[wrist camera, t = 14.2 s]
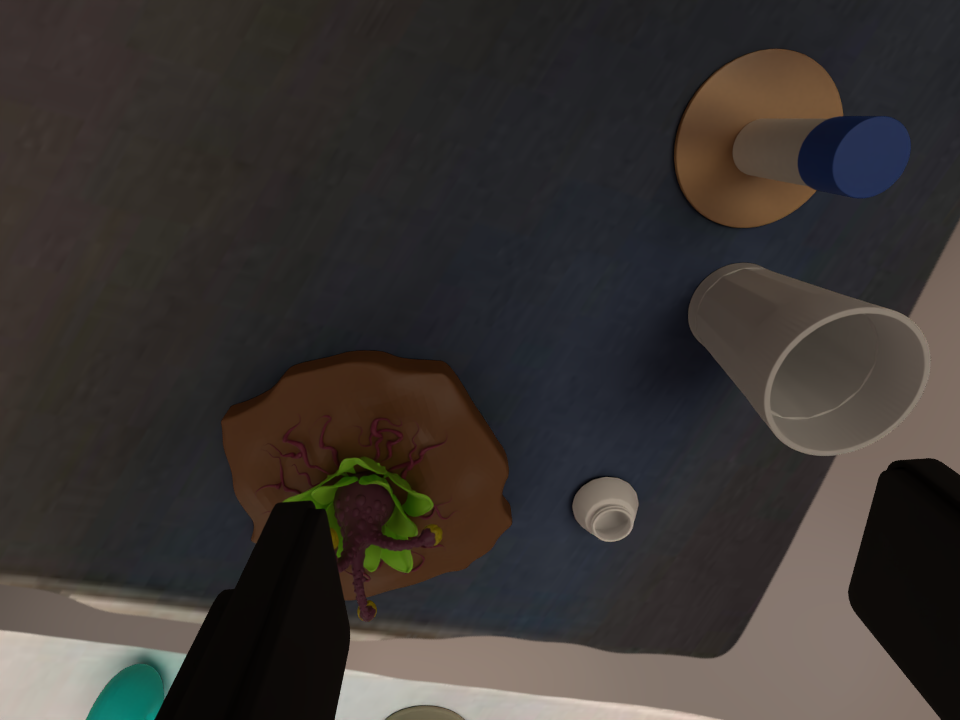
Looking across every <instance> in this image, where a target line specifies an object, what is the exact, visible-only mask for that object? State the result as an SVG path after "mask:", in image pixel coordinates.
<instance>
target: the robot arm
mask: <svg viewBox="0 0 960 720" xmlns="http://www.w3.org/2000/svg"><path fill="white" fill-rule="evenodd" d="M848 594H849V601H850V604H851V606H852V608H853V610H854V612H855V613H856V614H857V616H858V617H859V618H860V619H861V621H862V622H863V623H864V624H865V626H866V627H867V628H868V629H869V630H870V632H871V633H872V634H873V635H874V637H875V638H876V639H877V641H878V642H879V643H880V644H881V645H882V647H883V648H884V649H885V650H886V652H887V653H888V654H889V655H890V657H891V658H892V659H893V660H894V662H895V663H896V664H897V665H898V667H899V668H900V669H901V670H902V671H903V673H904V674H905V675H906V677H907V678H908V679H909V680H910V681H911V683H912V684H913V685H914V686H915V688H916V689H917V690H918V691H919V692H920V694H921V695H922V696H923V698H924V699H925V700H926V701H927V703H928V704H929V705H930V706H931V707H932V709H933V710H934V711H935V712H936V714H937V715H938V716H939V717H940V719H941V720H960V475H959V474H958V473H956V472H955V471H953V470H952V469H951V468H949V467H948V466H946V465H945V464H944V463H942V462H940V461H938V460H936V459H931V458H926V459H911V460H898V461H894V462H892V463H891V464H890V465H889V466H888V468H887V470H886V471H883V472H882V473H881V474H880V476H879V479H878V483H877V486H876V490H875V494H874V497H873V501H872V505H871V509H870V512H869V516H868V519H867V523H866V527H865V530H864V534H863V538H862V542H861V545H860V549H859V552H858V556H857V560H856V563H855V567H854V571H853V574H852V578H851V582H850V585H849V590H848ZM349 644H350V626H349V620H348V615H347V610H346V605H345V600H344V596H343V591H342V586H341V581H340V576H339V571H338V566H337V561H336V556H335V551H334V546H333V541H332V536H331V531H330V526H329V521H328V516H327V513H326V510H325V509H316V507H315V504H314V503H313V501H295V502H281V503H277V504H275V506H274V507H273V509H272V511H271V513H270V515H269V518H268V520H267V522H266V524H265V526H264V528H263V530H262V532H261V534H260V537H259V539H258V541H257V543H256V545H255V547H254V549H253V551H252V554H251V556H250V558H249V560H248V562H247V564H246V566H245V568H244V570H243V573H242V575H241V577H240V579H239V581H238V583H237V585H236V587H235V589H229V590H224V591H222V592H221V593H220V594H219V595H218V596H217V598H216V599H215V601H214V602H213V604H212V606H211V608H210V610H209V612H208V614H207V616H206V618H205V620H204V622H203V624H202V626H201V628H200V630H199V632H198V634H197V636H196V638H195V640H194V642H193V644H192V646H191V648H190V650H189V652H188V654H187V656H186V658H185V660H184V662H183V664H182V666H181V668H180V670H179V672H178V674H177V676H176V678H175V680H174V682H173V684H172V686H171V688H170V690H169V692H168V694H167V696H166V698H165V700H164V702H163V704H162V706H161V708H160V710H159V711H158V713H157V715H156V717H155V719H154V720H335V715H336V710H337V705H338V700H339V695H340V690H341V685H342V680H343V676H344V671H345V666H346V661H347V656H348V651H349Z"/></svg>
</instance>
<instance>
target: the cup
mask: <svg viewBox="0 0 960 720" xmlns="http://www.w3.org/2000/svg"><path fill="white" fill-rule="evenodd" d="M688 321H689V326H690V329H691V331H692V333H693V335H694V337H695V338H696V339H697V340H698V341H699V342H700V343H701V344H702V345H703V346H704V347H705V348H706V349H707V350H708V351H709V352H710V354H711V355H712V356H713V357H714V359H715V360H716V361H717V362H718V363H719V365H720V366H721V367H722V368H723V370H724V371H725V372H726V373H727V375H728V376H729V377H730V378H731V379H732V381H733V382H734V383H735V384H736V386H737V387H738V388H739V389H740V390H741V392H742V393H743V394H744V395H745V397H746V398H747V399H748V401H749V402H750V403H751V405H752V406H753V407H754V409H755V410H756V411H757V412H758V414H759V415H760V416H761V418H762V419H763V420H764V421H765V423H766V424H767V425H768V427H769V428H770V429H771V430H772V432H773V433H774V434H775V436H776V437H777V438H778V439H779V440H780V441H781V442H783V443H784V444H785V445H787V446H789V447H790V448H792V449H794V450H796V451H799V452H802V453H806V454H810V455H818V456H831V455H840V454H845V453H849V452H853V451H856V450H859V449H861V448H864V447H866V446H868V445H870V444H872V443H874V442H876V441H878V440H880V439H881V438H883V437H884V436H886V435H887V434H889V433H890V432H891V431H893V430H894V429H895V428H896V427H897V426H898V425H899V424H901V422H902V421H904V419H906V417H907V416H908V415H909V414H910V413H911V411H912V410H913V409H914V407H915V406H916V404H917V403H918V401H919V399H920V398H921V396H922V394H923V392H924V389H925V387H926V385H927V381H928V378H929V373H930V364H931V360H930V359H931V357H930V350H929V346H928V343H927V340H926V338H925V336H924V334H923V333H922V331H921V329H920V328H919V327H918V326H917V325H916V324H915V323H914V322H913V321H912V320H911V319H909V318H908V317H906V316H905V315H903V314H901V313H899V312H896V311H893V310H890V309H887V308H884V307H881V306H877V305H874V304H871V303H868V302H864V301H861V300H858V299H855V298H851V297H848V296H845V295H842V294H839V293H836V292H833V291H830V290H827V289H824V288H821V287H818V286H815V285H812V284H809V283H806V282H802V281H799V280H796V279H793V278H790V277H787V276H784V275H781V274H778V273H775V272H772V271H769V270H767V269H765V268H763V267H761V266H759V265H756V264H752V263H735V264H731V265H727V266H724V267H722V268H720V269H718V270H716V271H715V272H713V273H712V274H710V275H709V276H708V277H707V278H705V279H704V280H703V281H702V283H701V284H700V285H699V286H698V288H697V289H696V291H695V292H694V294H693V296H692V299H691V301H690V305H689V310H688Z"/></svg>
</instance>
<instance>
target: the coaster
mask: <svg viewBox="0 0 960 720" xmlns="http://www.w3.org/2000/svg"><path fill="white" fill-rule="evenodd" d="M839 116H843V110H842V103H841V100H840V96H839V93H838V90H837V88H836V86H835V83H834V82H833V80H832V79H831V77H830V76H829V74H828V73H827V72H826V71H825V70H824V68H823V67H822V66H821V65H819V64H818V63H817V62H816V61H814V60H813V59H811V58H809V57H808V56H806V55H804V54H801V53H798V52H795V51H791V50H786V49H767V50H759V51H755V52H752V53H748V54H745V55H743V56H740V57H738V58H736V59H734V60H732V61H730V62H729V63H727V64H725V65H724V66H722V67H721V68H720V69H718V70H717V71H716V72H714V73H713V74H712V75H711V76H710V77H709V78H708V79H707V80H706V81H705V82H704V83H703V84H702V85H701V87H700V88H699V89H698V90H697V91H696V93H695V94H694V96H693V97H692V99H691V100H690V102H689V104H688V106H687V107H686V109H685V111H684V113H683V116H682V118H681V121H680V124H679V127H678V131H677V135H676V140H675V147H674V163H675V171H676V175H677V179H678V183H679V185H680V188H681V190H682V192H683V194H684V195H685V197H686V199H687V200H688V201H689V203H690V204H691V205H692V207H693V208H695V209H696V210H697V211H698V212H699V213H700V214H702V215H703V216H704V217H706V218H707V219H709V220H712V221H714V222H716V223H718V224H722V225H725V226H729V227H736V228H750V227H758V226H762V225H766V224H769V223H772V222H774V221H777V220H779V219H781V218H783V217H785V216H787V215H789V214H790V213H792V212H793V211H795V210H796V209H798V208H799V207H800V206H801V205H802V204H804V203H805V202H806V201H807V200H808V199H809V198H810V197H811V196H812V195H813V194H814V193H815V192H816V191H817V190H814V189H812V188H810V187H808V186H803V185H798V184H793V183H788V182H782V181H777V180H772V179H767V178H762V177H757V176H751V175H747V174H745V173H743V172H741V171H740V170H739V169H738V168H737V166H736V165H735V163H734V160H733V145H734V142H735V139H736V137H737V136H738V134H739V133H740V131H741V130H742V129H743V128H744V127H745V126H746V125H748V124H749V123H751V122H752V121H755V120H758V119H830V118H833V117H839Z"/></svg>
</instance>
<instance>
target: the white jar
mask: <svg viewBox="0 0 960 720" xmlns="http://www.w3.org/2000/svg"><path fill="white" fill-rule="evenodd" d="M638 505H639V504H638V499H637V494H636V492H635V490H634V489H633V488H632V487H631V485H630V484H629V483H627V482H625V481H623V480H621V479H619V478H613V477H603V478H599V479H594V480H592V481H590V482H589V483H587V484H585V485H584V486H582V487H581V488H580V490H579V491H578V492H577V494H576V495H575V497H574V501H573V505H572V508H573V512H574V516H575V520H576V521H577V522H578V523H579V524H580V525H581V526H582V527H583V528H584V529H585V530H587V531H588V532H590V533H591V534H593V535H595V536H596V537H598V538H599V539H601V540H603V541H607V542H613V541H618V540H621V539H623V538H624V537H626V536H627V535H628V534H629V533H630V532H631V530H632V528H633V523H634V520H635V516H636V513H637V509H638Z"/></svg>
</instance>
